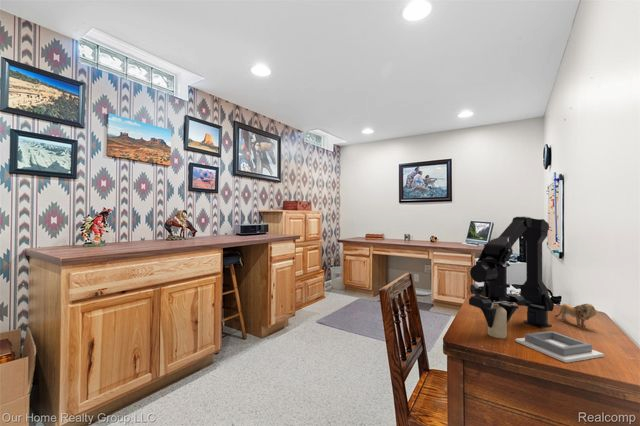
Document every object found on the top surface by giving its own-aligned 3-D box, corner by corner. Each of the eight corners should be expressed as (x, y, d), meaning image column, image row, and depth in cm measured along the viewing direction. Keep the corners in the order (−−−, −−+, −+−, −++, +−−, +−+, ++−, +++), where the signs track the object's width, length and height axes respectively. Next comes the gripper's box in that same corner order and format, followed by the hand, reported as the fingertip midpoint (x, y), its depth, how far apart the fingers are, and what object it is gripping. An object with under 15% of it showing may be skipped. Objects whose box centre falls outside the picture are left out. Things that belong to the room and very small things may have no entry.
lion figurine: (600, 330, 107) (600, 304, 107) (589, 331, 105) (589, 305, 106) (559, 317, 121) (559, 295, 121) (549, 318, 120) (548, 295, 120)
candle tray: (549, 336, 99) (549, 328, 99) (603, 356, 85) (603, 346, 85) (515, 341, 95) (515, 332, 95) (566, 362, 81) (566, 352, 81)
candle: (509, 339, 96) (509, 308, 97) (491, 337, 98) (491, 307, 98) (502, 333, 102) (502, 304, 102) (485, 331, 103) (485, 302, 103)
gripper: (497, 274, 111) (498, 316, 110) (456, 276, 105) (456, 321, 105) (526, 280, 100) (526, 327, 100) (482, 283, 95) (482, 332, 94)
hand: (497, 326), depth 100 cm, fingers closed on candle, 5 cm apart
